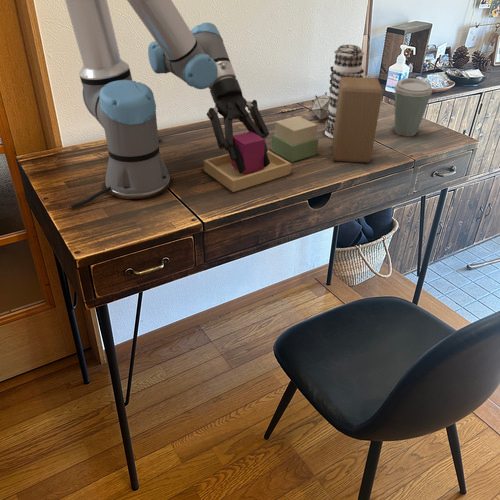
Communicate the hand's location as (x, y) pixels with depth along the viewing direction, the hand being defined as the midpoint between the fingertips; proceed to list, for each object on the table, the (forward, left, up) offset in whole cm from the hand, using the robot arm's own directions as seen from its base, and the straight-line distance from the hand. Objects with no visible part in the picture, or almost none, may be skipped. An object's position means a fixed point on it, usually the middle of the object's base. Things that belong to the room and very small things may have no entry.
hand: (254, 168), depth 121 cm
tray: (0, +4, -3) cm, 4 cm away
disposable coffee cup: (+56, 0, -3) cm, 56 cm away
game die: (+42, +22, -3) cm, 47 cm away
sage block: (+18, +7, -3) cm, 20 cm away
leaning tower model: (+38, +10, -3) cm, 40 cm away
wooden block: (+30, -3, -3) cm, 30 cm away
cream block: (+18, +7, +2) cm, 19 cm away
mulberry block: (0, +4, -1) cm, 4 cm away
